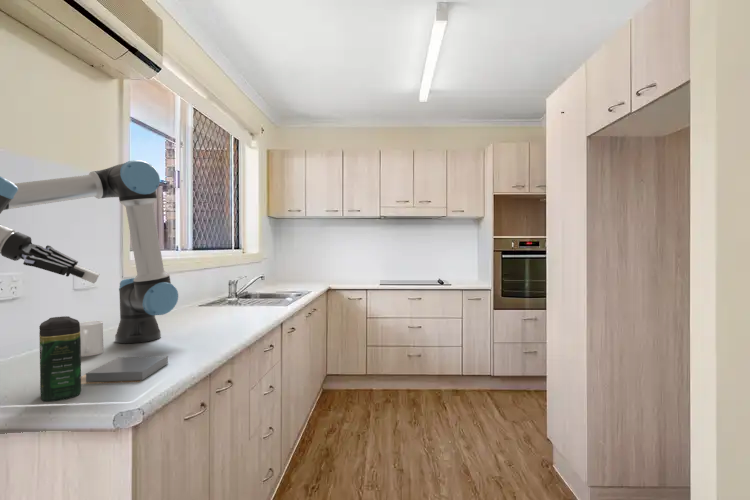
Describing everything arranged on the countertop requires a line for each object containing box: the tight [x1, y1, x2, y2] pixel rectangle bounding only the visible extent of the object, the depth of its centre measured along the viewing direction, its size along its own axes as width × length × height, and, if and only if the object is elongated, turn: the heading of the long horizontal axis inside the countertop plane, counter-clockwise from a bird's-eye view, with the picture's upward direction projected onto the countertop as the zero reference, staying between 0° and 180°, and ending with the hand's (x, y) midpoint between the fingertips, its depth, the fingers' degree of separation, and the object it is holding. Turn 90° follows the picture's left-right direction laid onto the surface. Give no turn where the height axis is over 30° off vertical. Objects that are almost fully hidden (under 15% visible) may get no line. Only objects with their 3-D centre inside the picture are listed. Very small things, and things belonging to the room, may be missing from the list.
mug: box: [79, 320, 104, 357], centre depth 143 cm, size 12×8×10 cm
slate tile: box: [85, 355, 169, 382], centre depth 122 cm, size 16×2×14 cm
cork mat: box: [81, 374, 143, 385], centre depth 122 cm, size 18×18×1 cm
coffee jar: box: [38, 315, 82, 402], centre depth 104 cm, size 10×8×19 cm
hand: (96, 278), depth 131 cm, fingers closed
